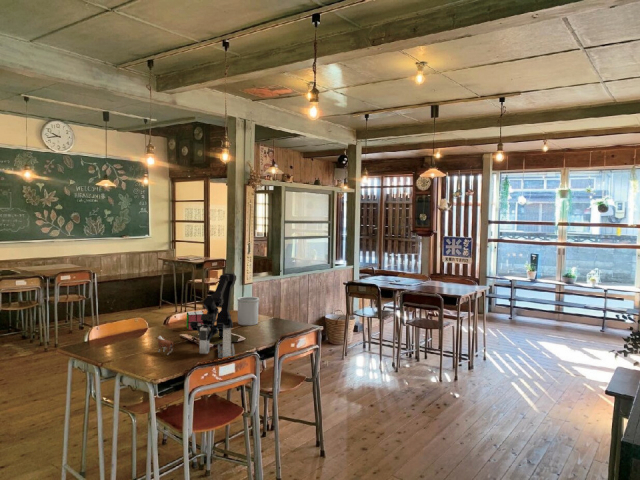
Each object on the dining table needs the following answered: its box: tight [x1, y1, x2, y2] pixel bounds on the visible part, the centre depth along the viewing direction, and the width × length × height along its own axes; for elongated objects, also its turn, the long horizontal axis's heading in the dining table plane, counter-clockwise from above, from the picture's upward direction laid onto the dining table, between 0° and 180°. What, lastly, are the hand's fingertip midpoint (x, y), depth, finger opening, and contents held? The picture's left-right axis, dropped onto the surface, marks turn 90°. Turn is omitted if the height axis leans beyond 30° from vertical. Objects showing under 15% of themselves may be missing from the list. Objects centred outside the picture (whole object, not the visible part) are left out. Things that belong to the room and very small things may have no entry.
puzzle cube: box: [185, 310, 204, 331], centre depth 306 cm, size 10×10×10 cm
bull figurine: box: [155, 335, 174, 356], centre depth 251 cm, size 4×13×8 cm, turn 51°
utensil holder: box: [237, 296, 260, 326], centre depth 324 cm, size 15×15×18 cm
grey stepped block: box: [217, 328, 236, 359], centre depth 253 cm, size 18×8×15 cm, turn 13°
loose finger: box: [199, 326, 211, 355], centre depth 253 cm, size 5×4×14 cm
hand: (203, 340), depth 252 cm, fingers closed on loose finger, 4 cm apart
